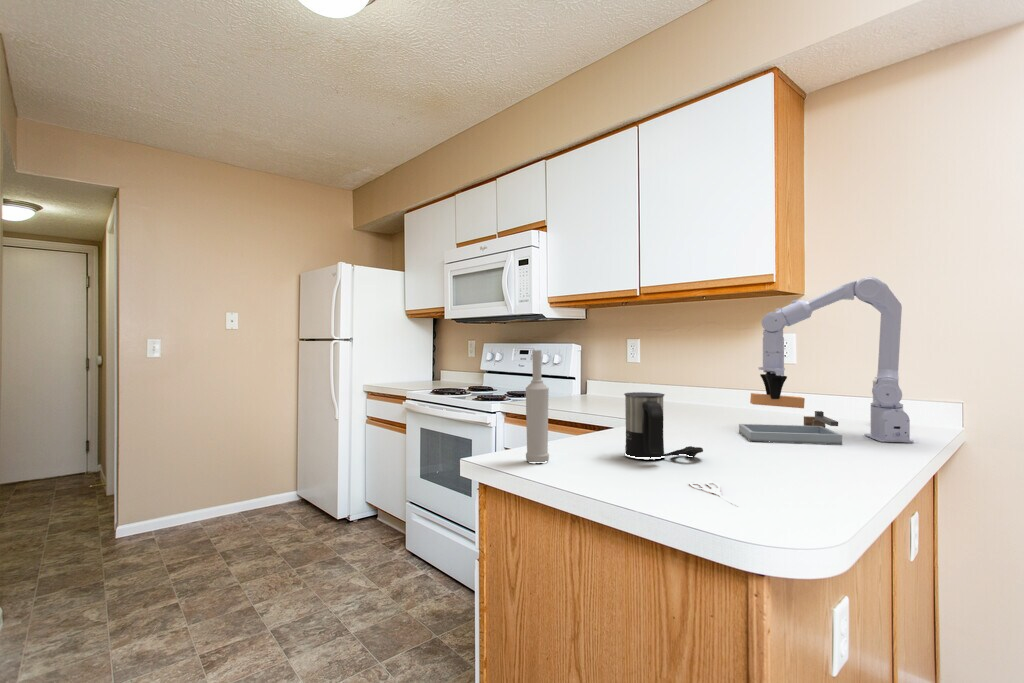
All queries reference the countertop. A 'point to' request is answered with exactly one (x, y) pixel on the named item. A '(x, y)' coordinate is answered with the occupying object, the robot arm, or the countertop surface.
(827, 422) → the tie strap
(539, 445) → the bottle
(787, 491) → the countertop surface
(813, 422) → the clamp posts
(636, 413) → the milk frother
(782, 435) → the parts tray
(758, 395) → the orange-brown bar
